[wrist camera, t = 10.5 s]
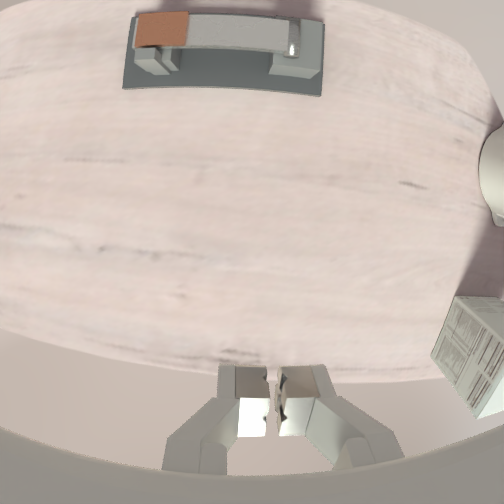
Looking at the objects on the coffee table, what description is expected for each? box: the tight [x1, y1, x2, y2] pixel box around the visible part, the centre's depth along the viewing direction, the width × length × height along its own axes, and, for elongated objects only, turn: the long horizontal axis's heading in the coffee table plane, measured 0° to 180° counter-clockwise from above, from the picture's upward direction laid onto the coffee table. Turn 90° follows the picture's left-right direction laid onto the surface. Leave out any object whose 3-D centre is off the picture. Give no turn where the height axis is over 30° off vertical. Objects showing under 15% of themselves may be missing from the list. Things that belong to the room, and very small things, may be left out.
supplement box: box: [430, 296, 504, 419], centre depth 40 cm, size 13×13×18 cm
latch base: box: [122, 13, 325, 97], centre depth 29 cm, size 24×10×9 cm, turn 86°
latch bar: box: [132, 11, 301, 59], centre depth 26 cm, size 17×4×2 cm, turn 86°
